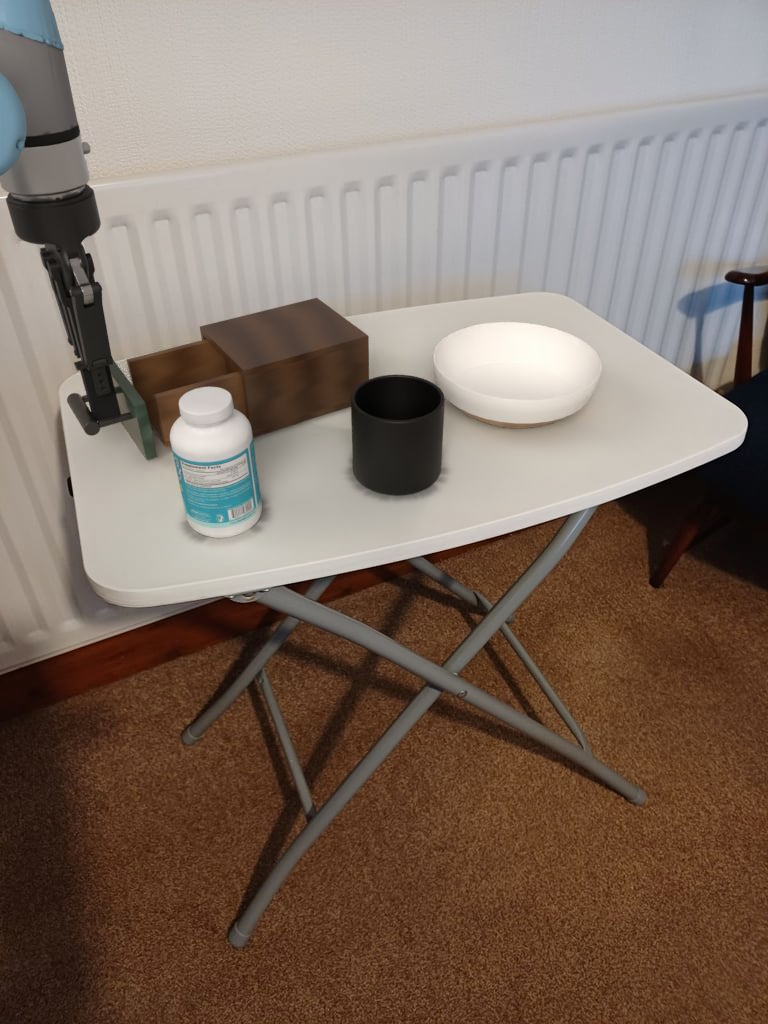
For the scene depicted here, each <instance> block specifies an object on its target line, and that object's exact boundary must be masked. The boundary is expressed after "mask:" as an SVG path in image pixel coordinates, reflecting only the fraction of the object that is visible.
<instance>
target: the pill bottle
mask: <svg viewBox="0 0 768 1024" xmlns="http://www.w3.org/2000/svg"><path fill="white" fill-rule="evenodd" d="M179 409H180V415H181V416H180V417H179V418H178V419H177V420H176V421H175V423H174V424H173V426H172V428H171V431H170V442H171V447H170V448H171V451H172V457H173V460H174V465H175V469H176V474H177V481H178V484H179V488H180V493H181V498H182V502H183V503H182V504H183V507H184V512H185V516H186V520H187V523H188V524H189V526H190V527H191V528H192V530H194V531H195V532H197V533H199V534H201V535H203V536H206V537H210V538H216V539H217V538H219V539H220V538H230V537H234V536H237V535H240V534H243V533H245V532H246V531H248V530H250V529H251V528H252V527H253V526H255V525H256V523H257V522H258V521H259V520H260V517H261V516H262V511H263V504H262V503H263V502H262V495H261V488H260V480H259V474H258V473H259V472H258V467H257V465H258V464H257V459H256V452H255V451H256V450H255V443H254V437H253V435H252V428H251V425H250V422H249V420H248V419H247V418H246V416H245V415H243V414H242V413H241V412H239V411H238V410H236V409H234V406H233V400H232V396H231V394H230V393H229V392H228V391H227V390H225V389H222V388H219V387H201V388H197V389H194V390H191V391H189V392H187V393H185V394H184V395H183V396H182V397H181V398H180V400H179Z"/></svg>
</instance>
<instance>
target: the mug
mask: <svg viewBox="0 0 768 1024" xmlns="http://www.w3.org/2000/svg"><path fill="white" fill-rule="evenodd" d="M445 404H446V397H445V396H444V394H443V392H442V391H441V389H440V388H439V386H438V384H435V383H433V382H432V381H430V380H428V379H425V378H422V377H419V376H416V375H410V374H409V375H408V374H385V375H379V376H375V377H371V378H369V380H367V381H365V382H363V383H361V384H360V385H358V386H357V387H356V388H355V389H354V391H353V393H352V395H351V407H350V418H351V419H350V420H351V421H350V422H351V453H352V472H353V474H354V476H355V478H356V480H357V481H358V482H359V483H360V485H362V486H363V487H364V488H366V489H368V490H370V491H372V492H375V493H378V494H383V495H387V496H407V495H412V494H417V493H420V492H422V491H425V490H426V489H427V490H428V488H430V487H431V486H432V485H434V484H435V483H436V481H437V480H438V478H439V477H440V475H441V472H442V458H443V441H444V424H445V407H446V406H445Z"/></svg>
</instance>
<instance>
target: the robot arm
mask: <svg viewBox="0 0 768 1024" xmlns="http://www.w3.org/2000/svg"><path fill="white" fill-rule="evenodd" d="M64 51H65V47H64V44H63V41H62V38H61V35H60V30H59V27H58V24H57V19H56V16H55V12H54V10H53V7H52V4H51V0H0V187H1V189H2V190H4V191H5V192H7V193H8V194H7V195H6V196H7V197H6V198H5V202H6V206H7V209H8V212H9V216H10V219H11V223H12V226H13V230H14V233H15V236H17V237H18V238H19V239H20V240H22V241H23V242H26V243H29V244H32V245H39V246H40V245H42V246H43V247H40V248H39V251H40V252H39V255H40V259H41V263H42V266H43V267H44V269H45V270H46V271H47V274H48V278H49V281H50V286H51V289H52V291H53V294H54V297H55V300H56V304H57V307H58V310H59V313H60V316H61V319H62V322H63V323H62V324H63V326H64V329H65V332H66V336H67V338H66V339H67V342H68V344H69V345H70V346H71V347H72V348H73V354H74V356H75V357H76V359H80V360H77V361H74V362H73V364H74V368H75V369H76V371H77V372H78V371H79V373H80V376H81V380H82V383H83V387H84V390H85V395H87V398H88V402H87V403H88V405H89V406H88V407H89V409H90V411H91V413H92V414H93V416H94V417H95V419H96V420H97V422H98V421H99V420H103V419H107V418H110V417H114V416H117V415H121V413H120V408H119V404H118V400H117V396H116V392H115V388H114V384H113V380H112V375H111V371H110V367H109V365H112V364H113V360H114V359H113V355H112V351H111V344H110V338H109V333H108V329H107V328H108V327H107V323H106V317H105V311H104V305H103V286H102V285H101V283H100V282H99V281H96V280H95V271H96V268H95V264H94V263H95V262H94V260H93V256H92V254H91V252H86V249H85V247H84V245H83V244H82V242H83V241H84V240H86V238H88V237H92V236H94V235H95V234H96V233H98V231H100V230H99V229H100V228H101V225H102V224H101V223H102V222H101V218H100V212H99V208H98V204H97V199H96V195H95V194H96V193H95V190H94V189H93V188H92V187H91V186H90V185H89V184H88V183H89V181H90V180H91V175H90V170H89V166H88V162H87V160H86V157H85V155H88V154H90V153H91V152H92V150H91V146H90V144H89V143H88V142H87V141H83V139H82V136H81V129H80V125H79V122H78V118H77V112H76V108H75V107H76V106H75V103H74V98H73V93H72V87H71V84H70V83H71V82H70V78H69V73H68V68H67V63H66V58H65V53H64Z"/></svg>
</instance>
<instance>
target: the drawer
mask: <svg viewBox="0 0 768 1024" xmlns="http://www.w3.org/2000/svg"><path fill="white" fill-rule="evenodd" d="M125 361H126V364H127V368H128V374H129V378H127V376H126V375H125V374H124V372H123V370H122V369H121V368H120V367H119V366H118V364H117V362H116V361H115V359H113V364H112V365H109V367H110V371H111V375H112V380H113V384H114V388H115V392H116V396H117V400H118V404H119V408H120V413H121V415H117V416H114V417H110V418H107V419H103V420H99V421H97V420H96V419H95V417H94V416H93V414H92V413H91V409H90V407H89V406H88V405H87V403H89V402H88V398H87V394H85V395H84V394H83V395H81V394H79V393H78V392H73V393H70V394H69V395H68V396H67V398H66V403H67V404H68V406H69V408H70V410H71V412H72V413H73V415H74V417H75V418H76V419H77V422H78V423H79V425H80V427H81V428H82V430H83V431H84V433H85V434H86V435H88V436H96V435H98V434H99V433H100V431H101V429H102V428H105V427H109V426H112V425H116V424H119V423H121V425H122V426H123V428H124V429H125V430H126V432H127V433H128V435H129V436H130V438H131V439H132V441H133V442H134V444H135V445H136V447H137V448H138V450H139V452H140V453H141V454H142V456H143V457H144V459H145V460H146V461H151V460H154V459H156V458H158V453H157V448H156V444H155V439H154V435H153V432H154V433H155V434H156V435H157V437H158V438H159V440H160V442H162V444H163V446H164V447H165V448H166V449H168V448H172V447H171V442H170V431H171V428H172V426H173V424H174V423H175V421H176V420H177V419H178V418H179V417H180V416H181V415H180V409H179V400H180V398H181V397H182V396H183V395H184V394H185V393H187V392H189V391H191V390H194V389H197V388H201V387H219V388H222V389H225V390H227V391H228V392H229V393H230V394H231V396H232V400H233V406H234V409H236V410H238V411H239V412H241V413H242V414H243V415H245V416H246V418H247V413H246V406H245V398H244V390H243V382H242V374H241V373H240V372H239V371H238V370H237V369H236V368H235V367H234V366H233V365H232V364H231V363H230V362H229V361H228V360H227V359H226V358H225V357H224V356H223V355H222V354H221V353H220V352H219V351H218V350H217V349H216V348H215V347H214V346H213V345H212V344H211V343H210V342H209V341H208V340H207V339H205V340H202V339H201V340H198V341H197V340H196V341H193V342H190V343H186V344H181V345H177V346H174V347H170V348H166V349H163V350H158V351H154V352H151V353H147V354H142V355H139V356H134V357H130V358H127V359H126V360H125ZM129 379H130V380H129ZM152 430H153V431H152Z"/></svg>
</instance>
